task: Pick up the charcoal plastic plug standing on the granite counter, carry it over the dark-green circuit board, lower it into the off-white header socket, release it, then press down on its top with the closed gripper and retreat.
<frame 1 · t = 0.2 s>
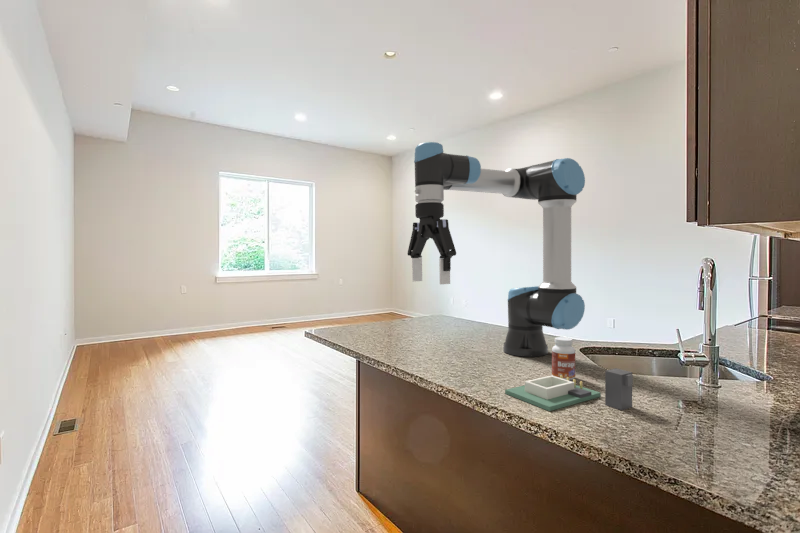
hand: (430, 282, 114), 28 cm above the countertop, fingers open, 13 cm apart
plug: (618, 405, 99), on the countertop
pill bottle: (563, 378, 121), on the countertop
header board: (552, 395, 106), on the countertop
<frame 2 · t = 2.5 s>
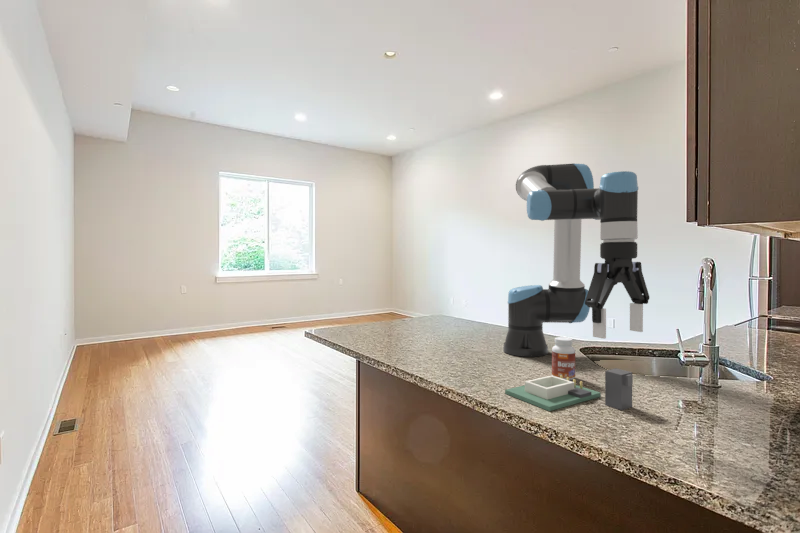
hand: (618, 334, 98), 17 cm above the countertop, fingers open, 13 cm apart
nothing on the countertop moved.
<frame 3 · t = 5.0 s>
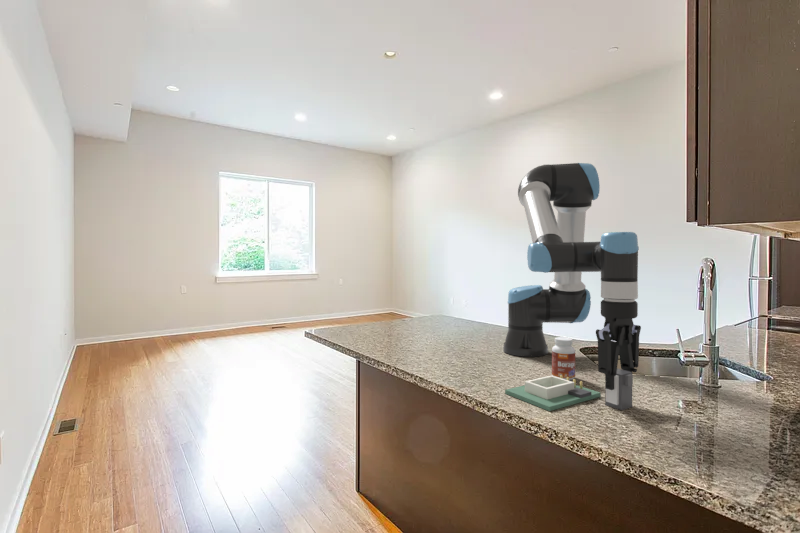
hand: (618, 400, 98), 1 cm above the countertop, fingers closed on plug, 4 cm apart
plug: (618, 405, 99), on the countertop, touching gripper
everything else where it was.
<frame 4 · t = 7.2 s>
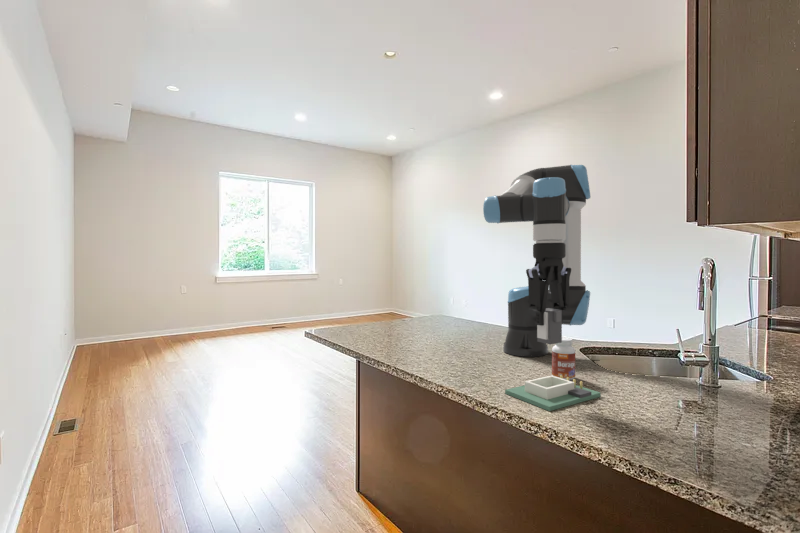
hand: (549, 337, 105), 15 cm above the countertop, fingers closed on plug, 4 cm apart
plug: (549, 341, 105), point 13 cm above the countertop, touching gripper
everything else where it was.
when the fingers open (4 cm above the countertop, at t = 9.3 s): plug drops 1 cm, resting on header board.
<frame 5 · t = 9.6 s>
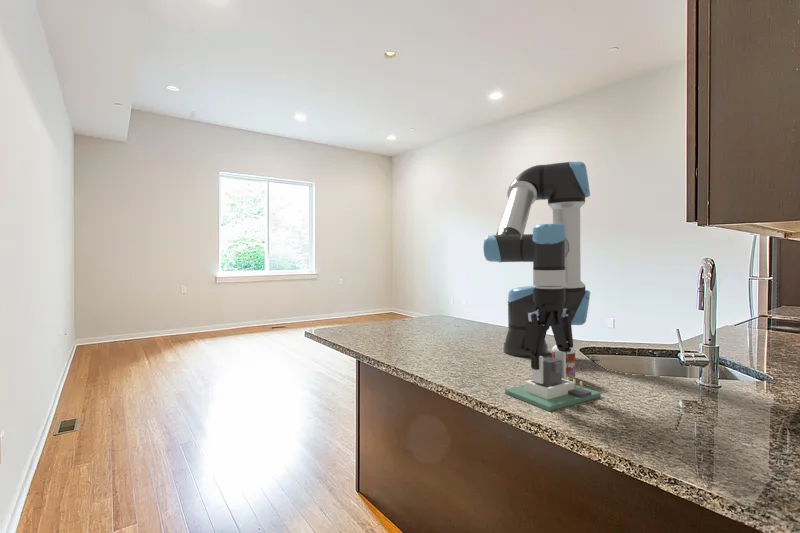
hand: (549, 379, 106), 4 cm above the countertop, fingers open, 7 cm apart
plug: (549, 391, 106), point 1 cm above the countertop, touching header board
everything else where it was.
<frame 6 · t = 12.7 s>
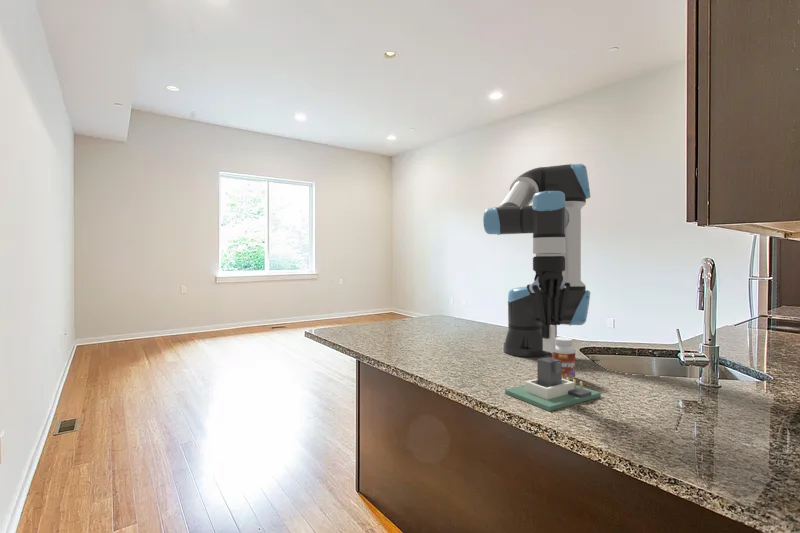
hand: (549, 351, 105), 11 cm above the countertop, fingers closed
nothing on the countertop moved.
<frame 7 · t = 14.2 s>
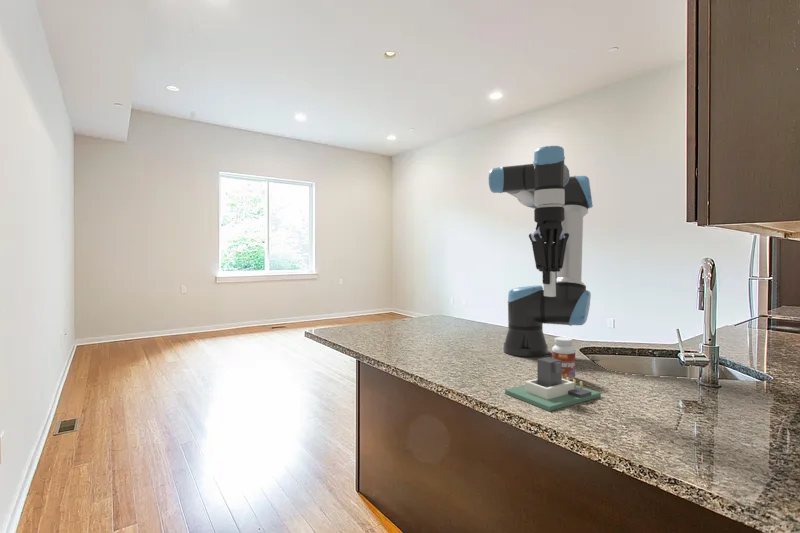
hand: (549, 296, 114), 24 cm above the countertop, fingers closed
nothing on the countertop moved.
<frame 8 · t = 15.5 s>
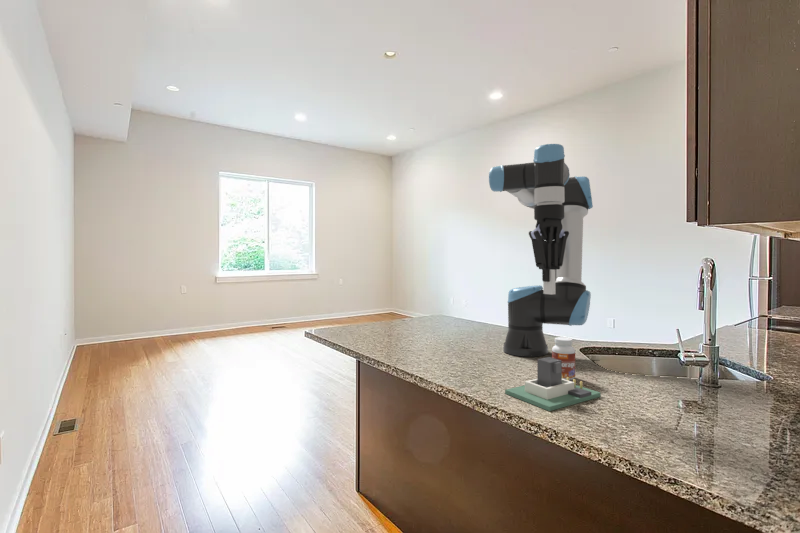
hand: (549, 293, 114), 24 cm above the countertop, fingers closed
nothing on the countertop moved.
at the end: plug 0.0 cm from the target spot on the header board, point 1.0 cm above the header board's base; plug tilted 0°; the gripper is holding nothing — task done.
